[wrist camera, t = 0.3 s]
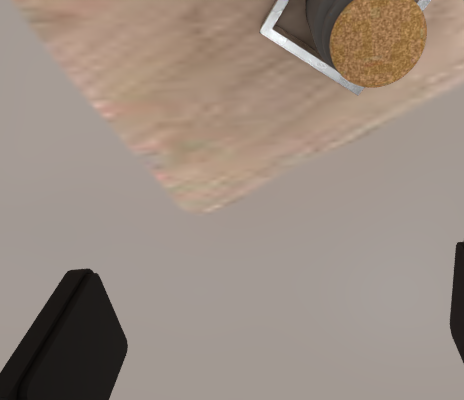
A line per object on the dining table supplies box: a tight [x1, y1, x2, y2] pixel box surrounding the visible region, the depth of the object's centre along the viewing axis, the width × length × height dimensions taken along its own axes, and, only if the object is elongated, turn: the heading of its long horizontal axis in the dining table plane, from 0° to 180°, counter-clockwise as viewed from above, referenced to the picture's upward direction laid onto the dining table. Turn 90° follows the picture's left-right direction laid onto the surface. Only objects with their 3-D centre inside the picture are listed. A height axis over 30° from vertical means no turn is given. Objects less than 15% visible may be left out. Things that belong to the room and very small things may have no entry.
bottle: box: [306, 0, 427, 87], centre depth 28 cm, size 6×6×15 cm
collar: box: [260, 0, 431, 95], centre depth 33 cm, size 9×9×3 cm
